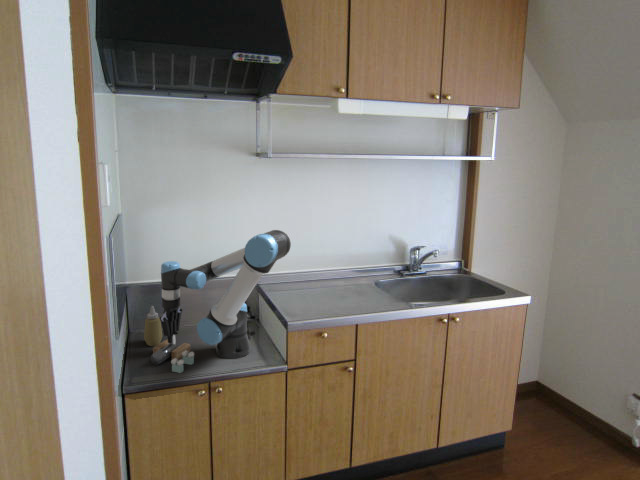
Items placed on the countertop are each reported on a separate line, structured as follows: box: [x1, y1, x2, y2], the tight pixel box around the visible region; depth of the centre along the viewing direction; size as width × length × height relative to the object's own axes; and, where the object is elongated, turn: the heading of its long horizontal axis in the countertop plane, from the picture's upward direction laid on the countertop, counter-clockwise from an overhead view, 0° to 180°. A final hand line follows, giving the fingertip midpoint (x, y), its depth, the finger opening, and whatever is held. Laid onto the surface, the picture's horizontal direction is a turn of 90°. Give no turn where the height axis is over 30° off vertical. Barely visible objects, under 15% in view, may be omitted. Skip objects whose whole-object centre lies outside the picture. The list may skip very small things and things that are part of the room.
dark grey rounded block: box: [150, 343, 178, 366], centre depth 189 cm, size 11×5×5 cm, turn 162°
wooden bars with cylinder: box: [152, 339, 191, 361], centre depth 195 cm, size 12×10×4 cm
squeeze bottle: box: [143, 305, 164, 347], centre depth 202 cm, size 8×8×18 cm
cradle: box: [170, 350, 195, 374], centre depth 183 cm, size 10×5×5 cm, turn 163°
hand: (171, 348), depth 195 cm, fingers closed
